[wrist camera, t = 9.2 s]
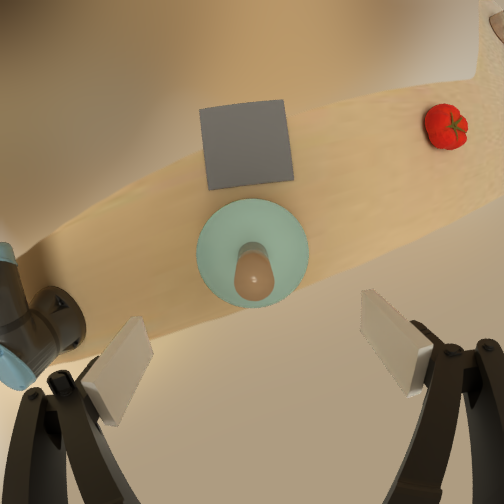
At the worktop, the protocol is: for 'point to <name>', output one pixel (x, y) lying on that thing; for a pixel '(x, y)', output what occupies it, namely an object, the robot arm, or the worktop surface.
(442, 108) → the tomato
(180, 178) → the worktop surface
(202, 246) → the cover
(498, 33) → the planter
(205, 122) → the mat
